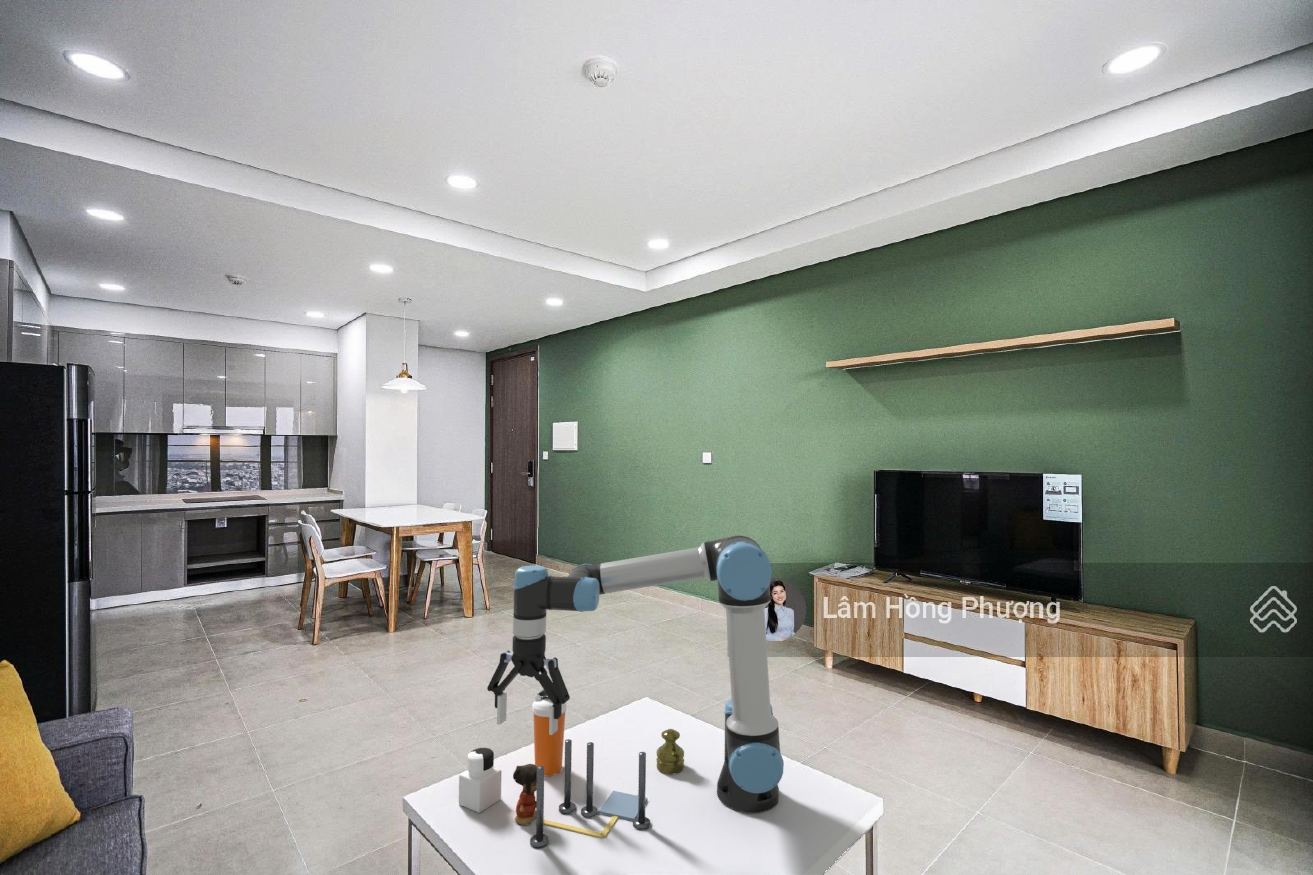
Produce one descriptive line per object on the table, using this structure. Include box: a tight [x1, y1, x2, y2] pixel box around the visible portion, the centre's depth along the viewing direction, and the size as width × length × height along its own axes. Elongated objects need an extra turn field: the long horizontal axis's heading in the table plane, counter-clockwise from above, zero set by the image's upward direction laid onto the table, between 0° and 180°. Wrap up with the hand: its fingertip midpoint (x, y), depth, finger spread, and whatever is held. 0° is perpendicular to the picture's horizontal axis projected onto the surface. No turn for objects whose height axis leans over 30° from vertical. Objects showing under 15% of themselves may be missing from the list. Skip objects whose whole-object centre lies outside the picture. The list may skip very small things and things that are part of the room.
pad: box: [598, 790, 648, 822], centre depth 147 cm, size 9×9×1 cm
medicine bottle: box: [458, 747, 502, 814], centre depth 149 cm, size 7×7×12 cm
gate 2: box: [580, 741, 651, 831], centre depth 143 cm, size 17×4×16 cm, turn 71°
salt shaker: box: [656, 728, 685, 775], centre depth 166 cm, size 7×7×10 cm
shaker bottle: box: [531, 689, 567, 777], centre depth 164 cm, size 9×9×20 cm
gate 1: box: [529, 738, 577, 849], centre depth 140 cm, size 4×17×16 cm, turn 161°
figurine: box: [512, 763, 537, 826], centre depth 142 cm, size 6×6×12 cm
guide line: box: [543, 816, 619, 839], centre depth 142 cm, size 16×8×1 cm, turn 71°
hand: (527, 727), depth 143 cm, fingers open, 13 cm apart
